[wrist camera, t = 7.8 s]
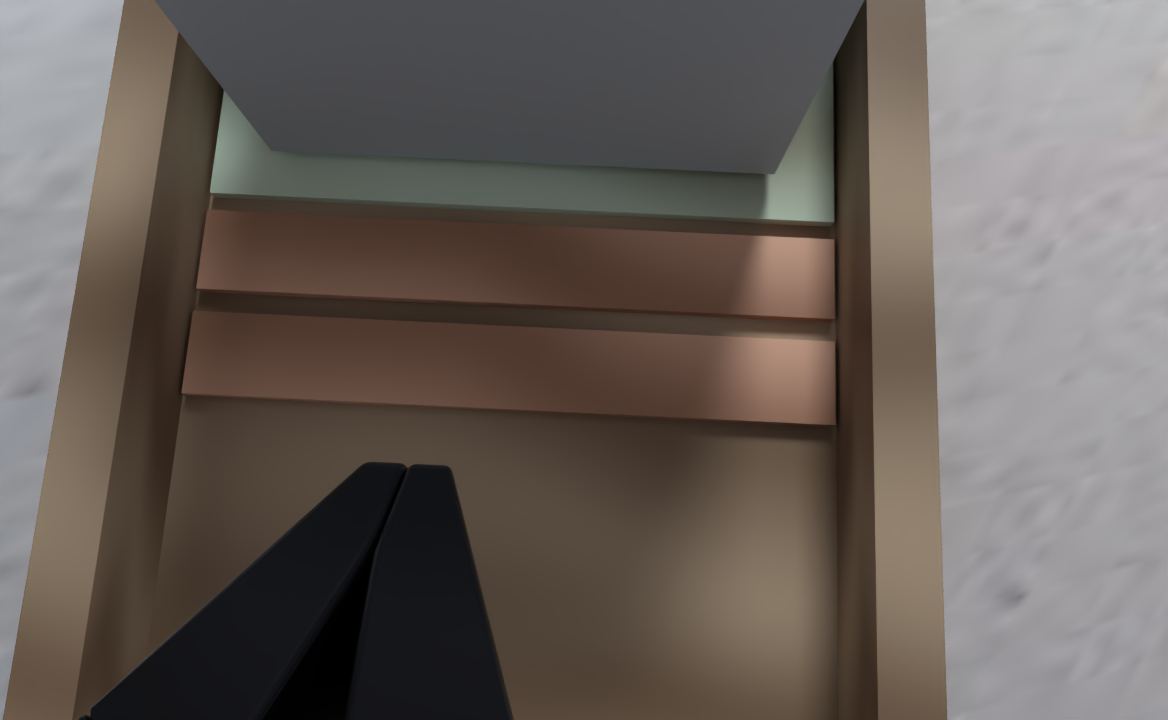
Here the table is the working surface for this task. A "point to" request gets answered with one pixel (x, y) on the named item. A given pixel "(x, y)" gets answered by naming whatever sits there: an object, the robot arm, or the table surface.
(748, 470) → the box
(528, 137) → the grey block
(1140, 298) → the table surface
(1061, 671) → the table surface
